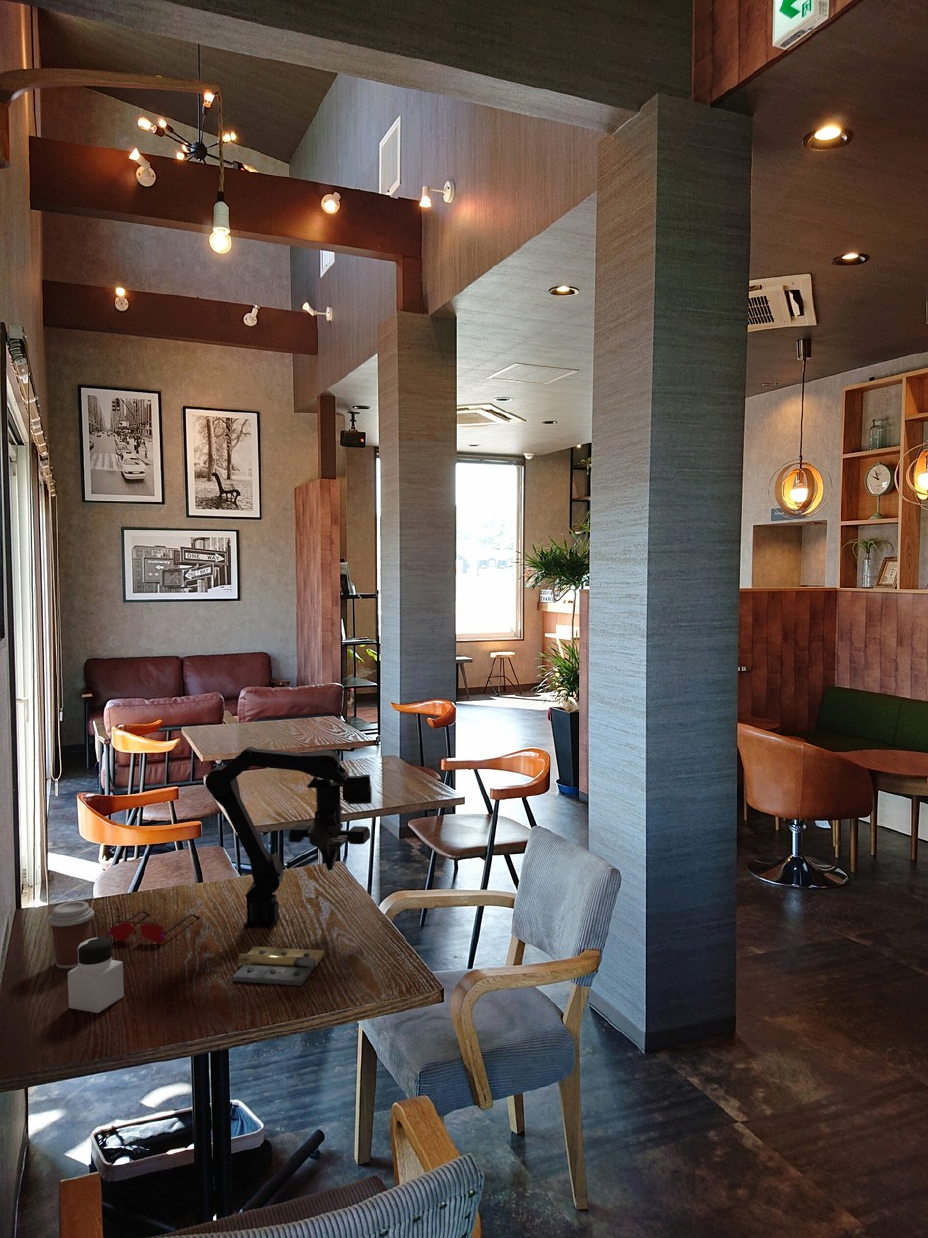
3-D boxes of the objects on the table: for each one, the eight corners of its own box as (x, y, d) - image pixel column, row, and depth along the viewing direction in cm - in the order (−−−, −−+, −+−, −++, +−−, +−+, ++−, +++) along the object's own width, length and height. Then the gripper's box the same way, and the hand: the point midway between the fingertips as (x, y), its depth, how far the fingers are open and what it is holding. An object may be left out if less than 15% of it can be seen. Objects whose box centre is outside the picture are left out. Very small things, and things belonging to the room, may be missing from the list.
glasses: (107, 943, 195) (107, 922, 195) (148, 916, 211) (148, 896, 211) (163, 947, 192) (163, 925, 192) (200, 919, 208) (200, 899, 208)
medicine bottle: (124, 996, 168) (122, 936, 168) (98, 1014, 161) (96, 951, 161) (95, 991, 171) (93, 932, 170) (68, 1008, 164) (65, 946, 163)
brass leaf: (238, 967, 180) (237, 956, 180) (254, 951, 188) (254, 940, 188) (311, 972, 177) (310, 961, 177) (324, 955, 185) (324, 944, 185)
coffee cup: (86, 949, 191) (84, 896, 190) (102, 961, 184) (100, 906, 184) (42, 962, 185) (40, 907, 184) (58, 975, 178) (56, 918, 178)
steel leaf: (232, 981, 174) (232, 969, 174) (249, 963, 182) (249, 952, 182) (300, 985, 171) (300, 974, 171) (315, 967, 180) (315, 956, 179)
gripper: (278, 813, 198) (280, 879, 199) (355, 815, 195) (357, 883, 195) (296, 801, 209) (298, 864, 210) (370, 802, 206) (371, 867, 206)
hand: (330, 869), depth 205 cm, fingers closed
